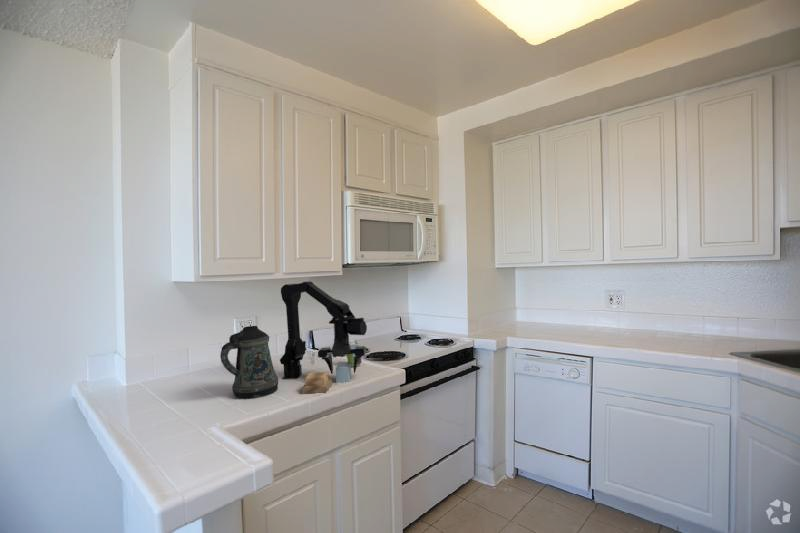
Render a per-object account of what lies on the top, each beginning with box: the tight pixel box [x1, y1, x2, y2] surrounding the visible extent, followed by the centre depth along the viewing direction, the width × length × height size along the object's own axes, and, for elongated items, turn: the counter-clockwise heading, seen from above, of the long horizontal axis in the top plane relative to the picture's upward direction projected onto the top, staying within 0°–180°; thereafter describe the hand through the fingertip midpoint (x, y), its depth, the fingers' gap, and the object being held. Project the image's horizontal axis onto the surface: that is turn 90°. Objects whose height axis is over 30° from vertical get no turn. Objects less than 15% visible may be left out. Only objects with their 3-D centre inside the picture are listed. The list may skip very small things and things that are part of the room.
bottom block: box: [301, 378, 333, 395], centre depth 144 cm, size 9×9×3 cm
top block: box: [304, 371, 329, 386], centre depth 144 cm, size 7×7×3 cm
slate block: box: [335, 363, 352, 384], centre depth 153 cm, size 5×5×6 cm
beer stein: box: [219, 325, 279, 400], centre depth 143 cm, size 16×19×25 cm
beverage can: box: [346, 339, 362, 368], centre depth 175 cm, size 6×7×12 cm
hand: (343, 373), depth 153 cm, fingers open, 9 cm apart
